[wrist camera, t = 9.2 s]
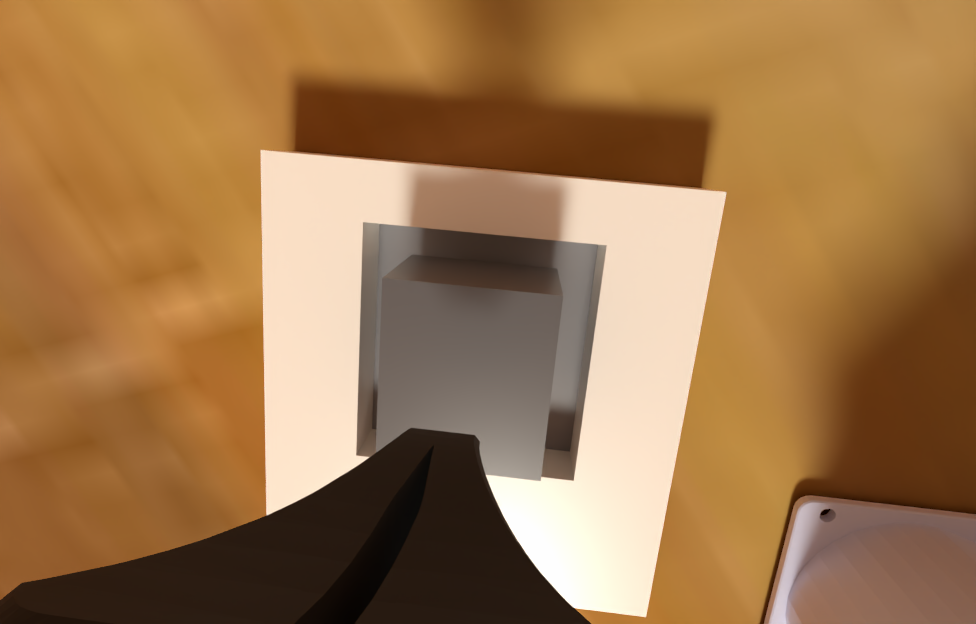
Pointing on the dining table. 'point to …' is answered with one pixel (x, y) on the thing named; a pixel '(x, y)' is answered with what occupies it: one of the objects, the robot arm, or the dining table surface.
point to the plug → (470, 356)
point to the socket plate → (580, 349)
